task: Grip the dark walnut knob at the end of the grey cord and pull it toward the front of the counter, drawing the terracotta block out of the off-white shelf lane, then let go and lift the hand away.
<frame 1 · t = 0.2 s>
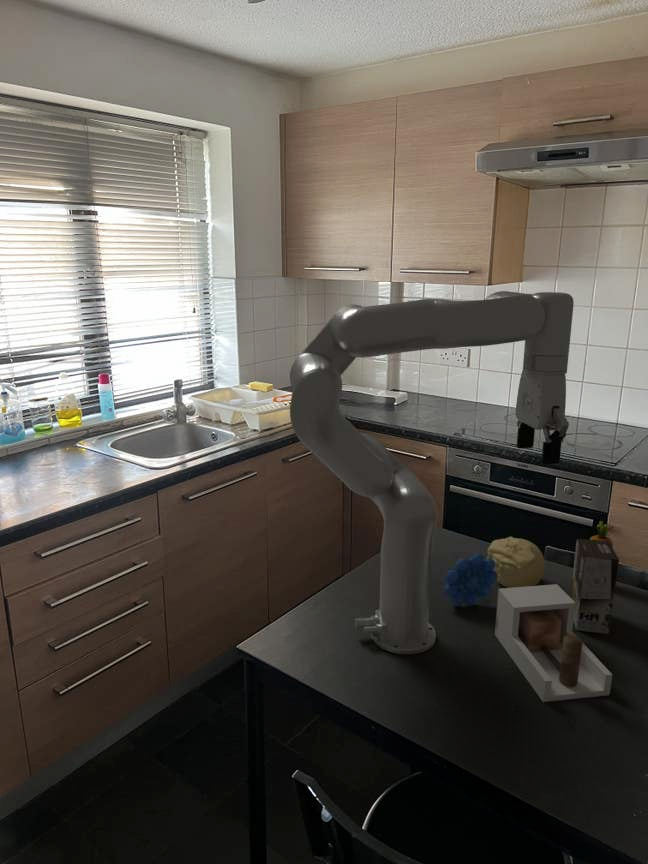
hand: (537, 455, 119), 36 cm above the table, tool pointing down, fingers open, 9 cm apart
carrot: (595, 584, 146), on the table
shelf lane: (547, 662, 118), on the table
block: (551, 638, 116), point 5 cm above the table, slide at 0.0 cm
coffee box: (588, 621, 131), on the table
grapes: (467, 604, 138), on the table
sculpture: (515, 583, 146), on the table
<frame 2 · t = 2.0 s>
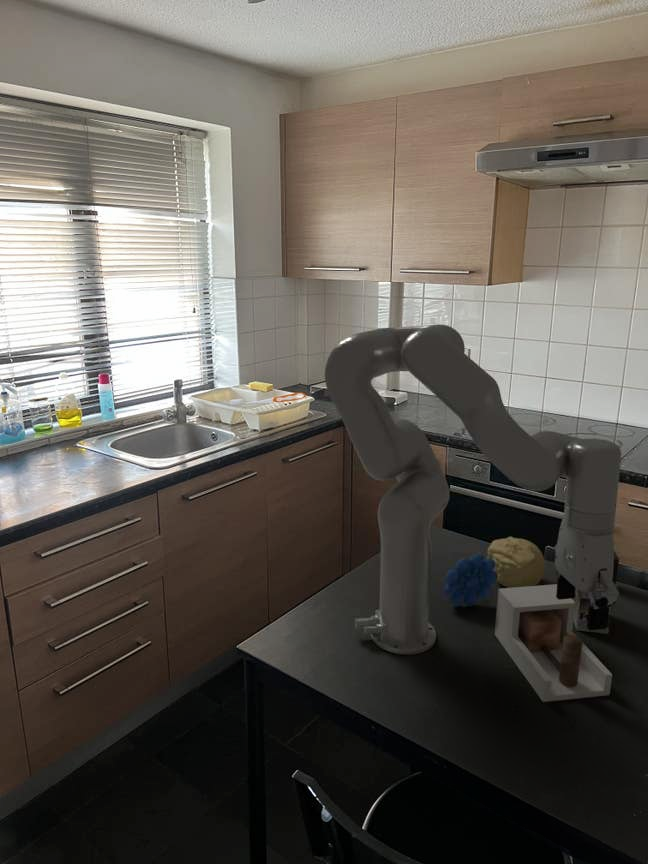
hand: (580, 612, 107), 15 cm above the table, tool pointing down, fingers open, 9 cm apart
nothing on the table moved.
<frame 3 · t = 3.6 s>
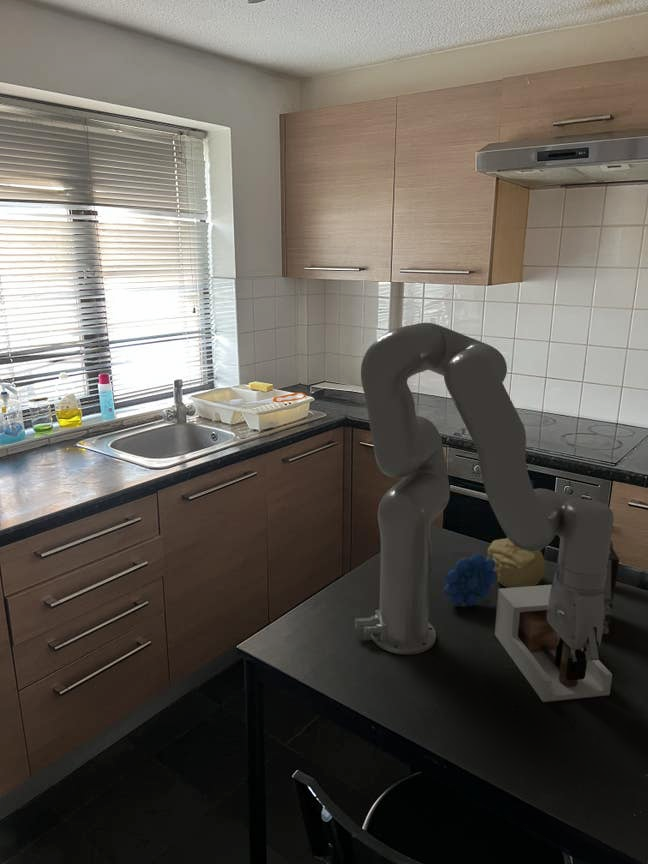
hand: (569, 670, 110), 3 cm above the table, tool pointing down, fingers closed on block, 3 cm apart
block: (551, 638, 116), point 5 cm above the table, slide at 0.0 cm, touching gripper
everything else where it was.
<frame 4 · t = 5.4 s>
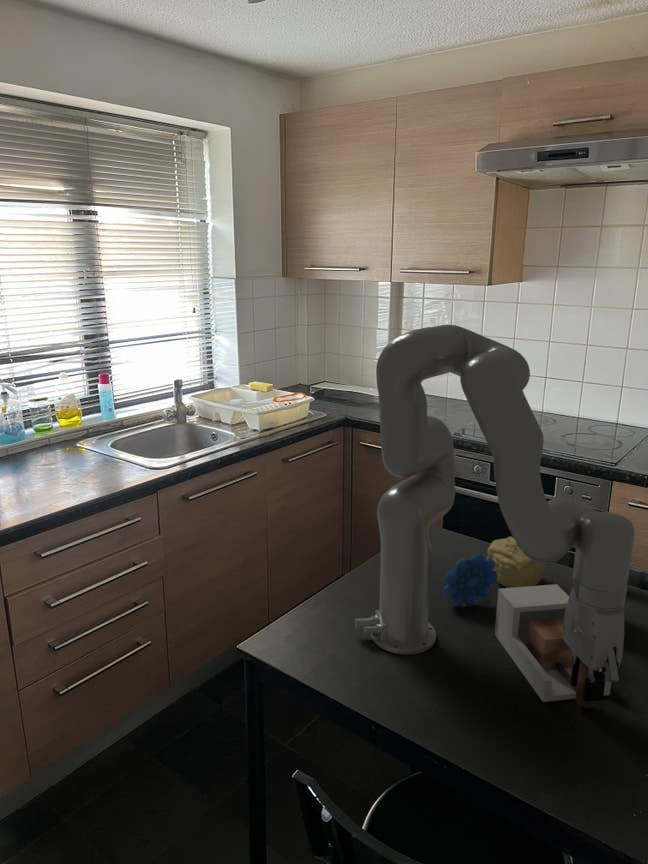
hand: (586, 691, 105), 3 cm above the table, tool pointing down, fingers closed on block, 3 cm apart
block: (566, 656, 111), point 5 cm above the table, slide at 5.4 cm, touching gripper
everything else where it was.
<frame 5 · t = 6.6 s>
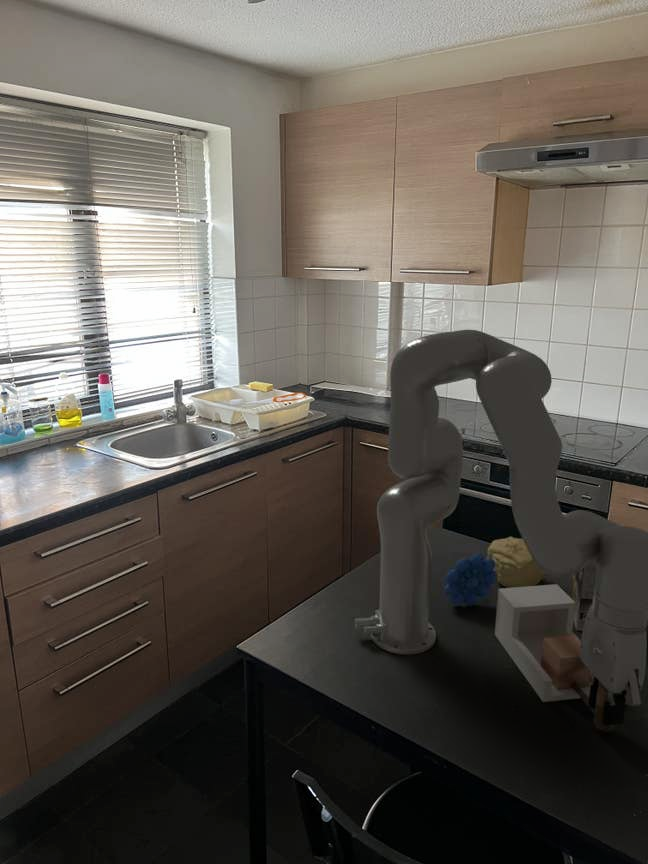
hand: (605, 713, 100), 3 cm above the table, tool pointing down, fingers closed on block, 3 cm apart
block: (583, 675, 106), point 5 cm above the table, slide at 10.8 cm, touching gripper
everything else where it was.
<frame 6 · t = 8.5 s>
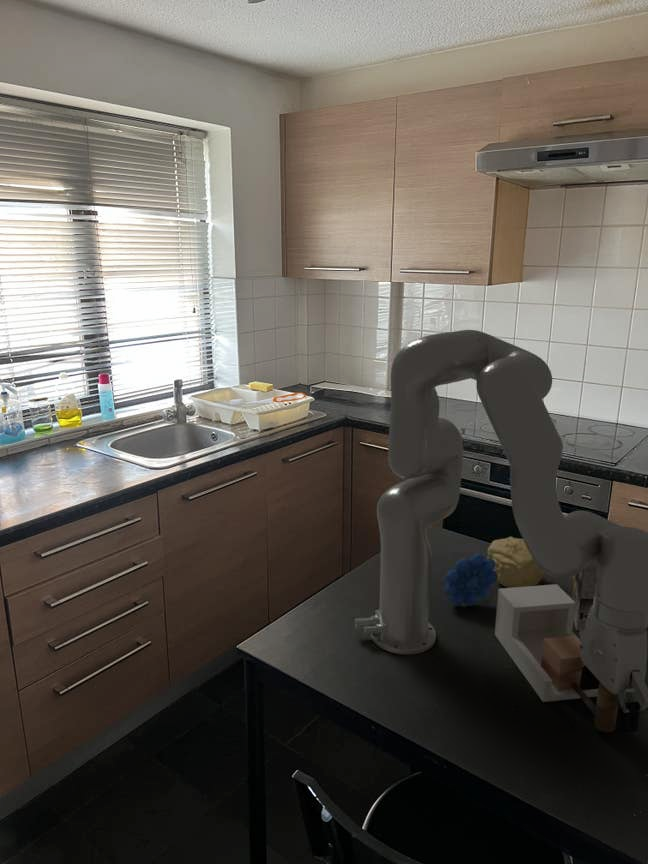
hand: (606, 708, 99), 4 cm above the table, tool pointing down, fingers open, 9 cm apart
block: (583, 676, 106), point 5 cm above the table, slide at 11.0 cm
everything else where it was.
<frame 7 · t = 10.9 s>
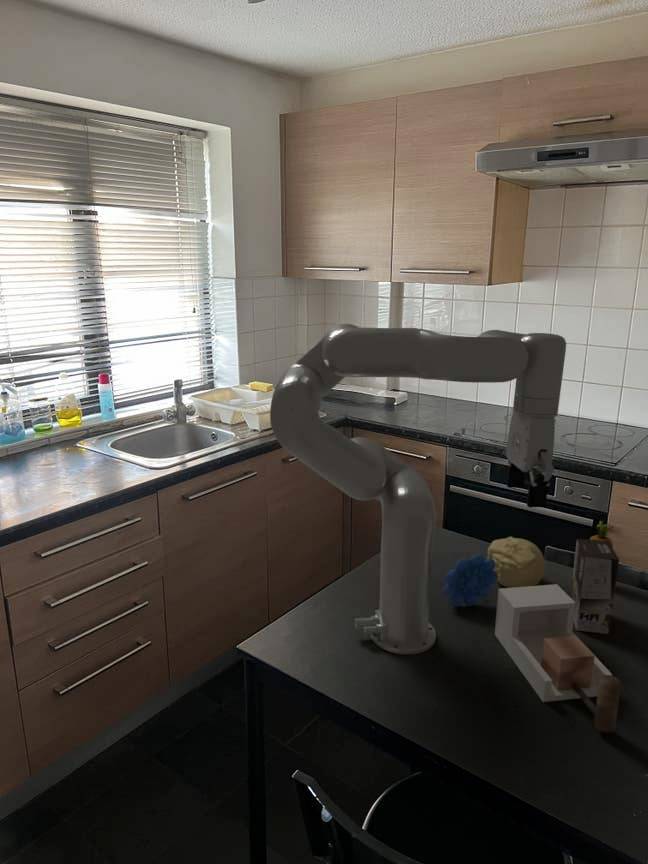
hand: (525, 496, 117), 30 cm above the table, tool pointing down, fingers open, 9 cm apart
nothing on the table moved.
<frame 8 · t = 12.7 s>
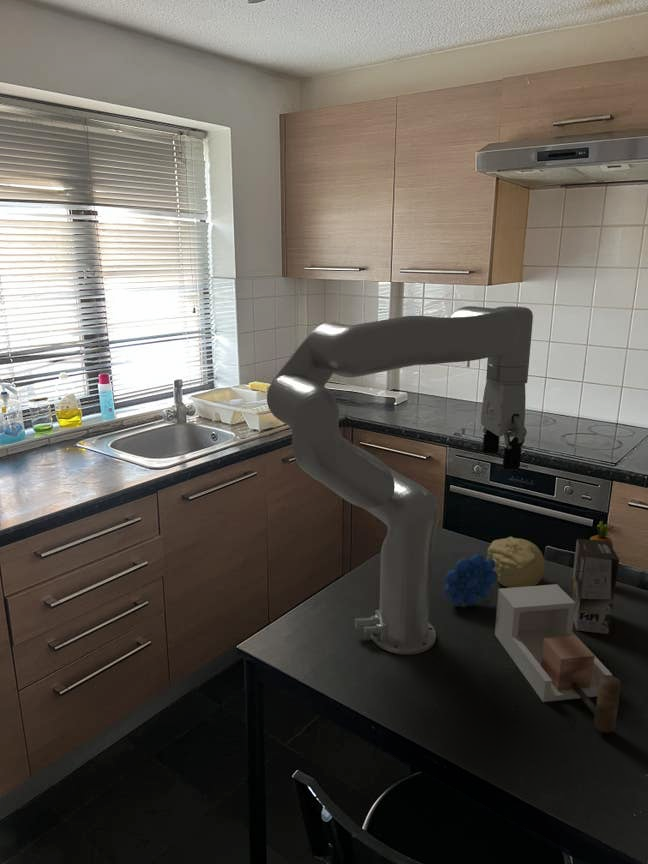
hand: (500, 460, 125), 33 cm above the table, tool pointing down, fingers open, 9 cm apart
nothing on the table moved.
at the end: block slide at 11.0 cm; the gripper is holding nothing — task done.
